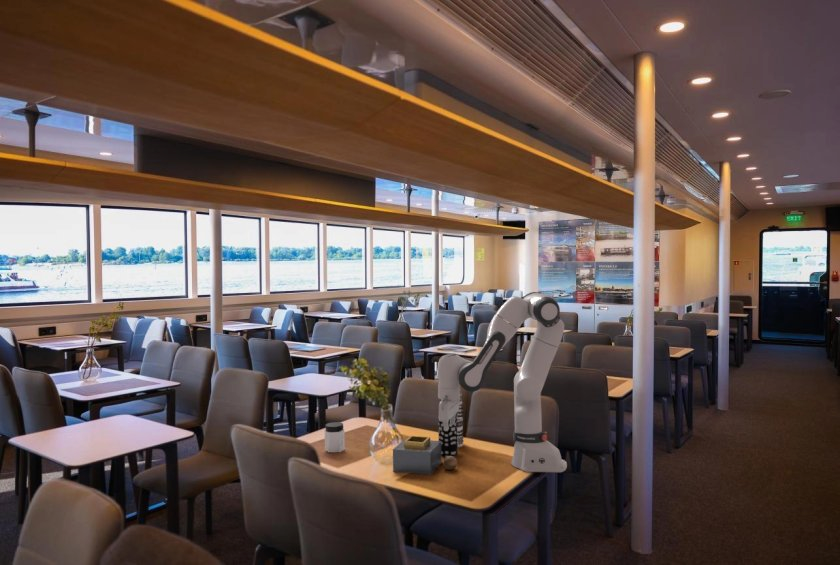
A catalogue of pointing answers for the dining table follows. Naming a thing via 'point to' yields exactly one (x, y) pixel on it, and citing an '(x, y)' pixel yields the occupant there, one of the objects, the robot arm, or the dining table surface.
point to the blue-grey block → (417, 455)
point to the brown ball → (450, 462)
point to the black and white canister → (460, 424)
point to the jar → (334, 437)
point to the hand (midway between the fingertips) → (449, 427)
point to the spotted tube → (448, 438)
